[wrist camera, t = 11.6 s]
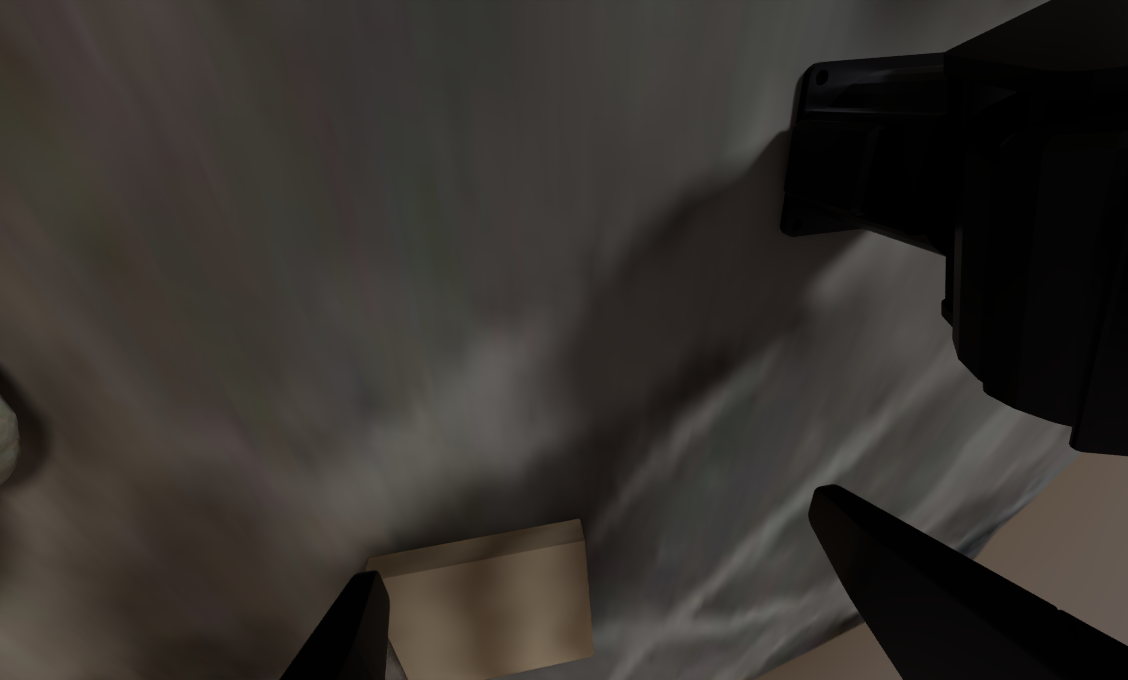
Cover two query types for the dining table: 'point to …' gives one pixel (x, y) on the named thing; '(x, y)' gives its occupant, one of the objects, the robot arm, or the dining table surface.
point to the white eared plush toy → (8, 441)
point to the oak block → (489, 603)
